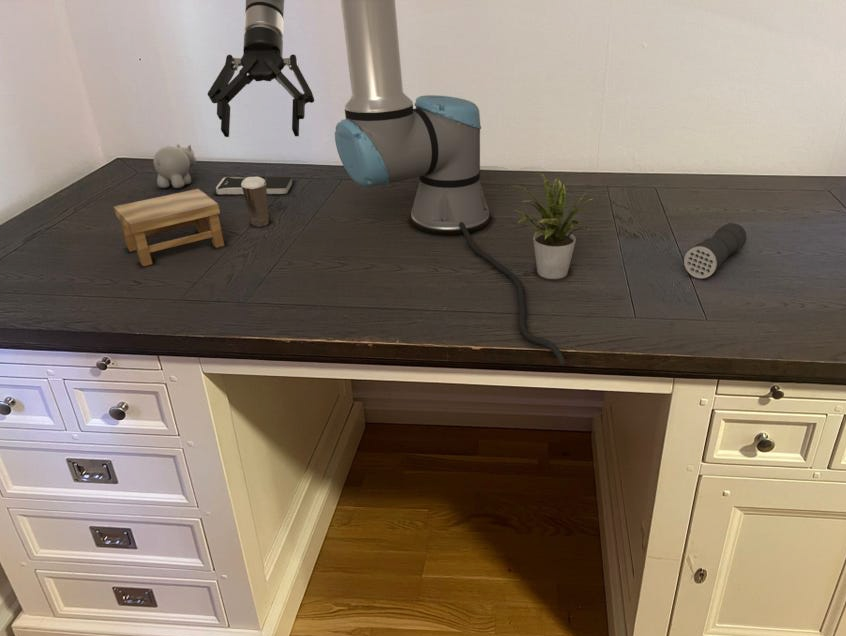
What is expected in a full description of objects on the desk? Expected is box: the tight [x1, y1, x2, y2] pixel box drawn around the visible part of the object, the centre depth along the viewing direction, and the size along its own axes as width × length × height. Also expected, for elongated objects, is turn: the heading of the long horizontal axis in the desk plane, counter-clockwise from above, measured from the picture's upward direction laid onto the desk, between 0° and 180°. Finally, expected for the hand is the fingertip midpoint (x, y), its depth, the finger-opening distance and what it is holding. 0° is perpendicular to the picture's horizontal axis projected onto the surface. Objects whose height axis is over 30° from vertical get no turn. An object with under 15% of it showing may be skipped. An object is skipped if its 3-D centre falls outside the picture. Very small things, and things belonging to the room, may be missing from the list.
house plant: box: [512, 172, 595, 280], centre depth 118 cm, size 14×14×16 cm
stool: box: [113, 188, 225, 267], centre depth 128 cm, size 10×15×8 cm, turn 128°
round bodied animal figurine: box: [153, 143, 197, 189], centre depth 158 cm, size 7×12×8 cm, turn 165°
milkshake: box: [241, 173, 270, 228], centre depth 137 cm, size 4×5×10 cm
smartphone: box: [215, 176, 293, 195], centre depth 156 cm, size 8×1×15 cm
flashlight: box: [683, 222, 747, 279], centre depth 124 cm, size 15×5×5 cm, turn 142°
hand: (260, 133), depth 140 cm, fingers open, 13 cm apart
